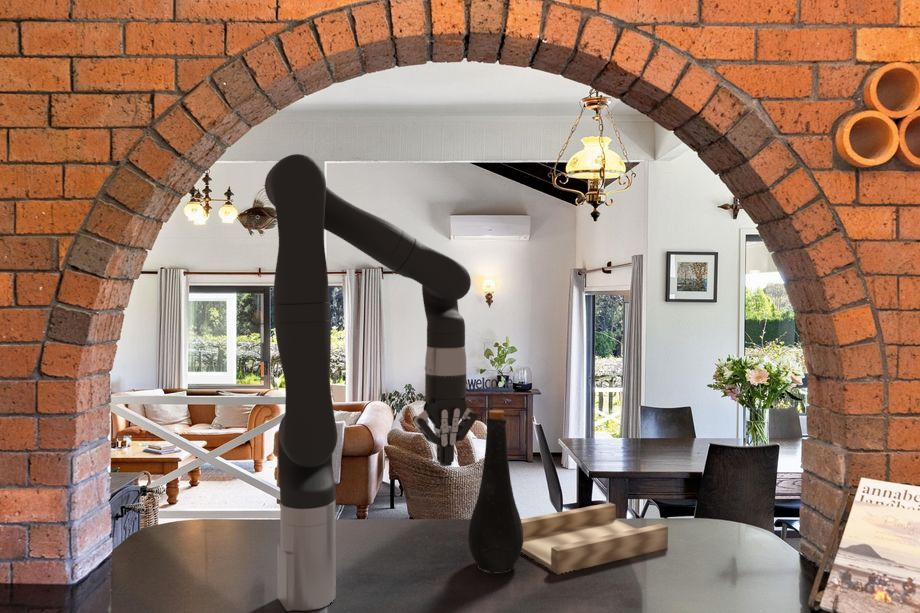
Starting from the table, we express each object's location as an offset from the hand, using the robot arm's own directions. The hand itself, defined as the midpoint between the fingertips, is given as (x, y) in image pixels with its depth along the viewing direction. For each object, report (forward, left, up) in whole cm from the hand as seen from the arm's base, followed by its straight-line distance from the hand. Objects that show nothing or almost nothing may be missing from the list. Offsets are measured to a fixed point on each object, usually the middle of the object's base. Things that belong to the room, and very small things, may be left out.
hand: (445, 464), depth 135 cm
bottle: (+11, 0, -21) cm, 24 cm away
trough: (+33, 0, -21) cm, 39 cm away
